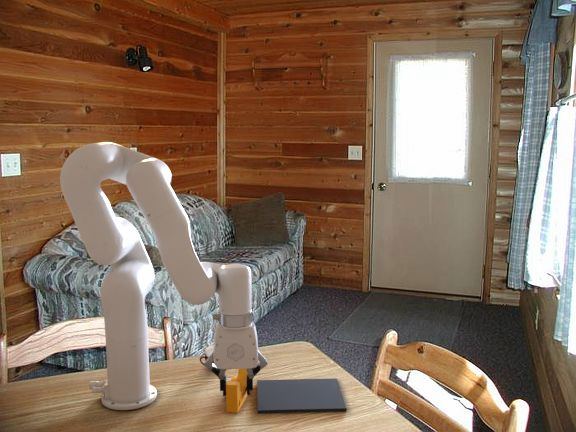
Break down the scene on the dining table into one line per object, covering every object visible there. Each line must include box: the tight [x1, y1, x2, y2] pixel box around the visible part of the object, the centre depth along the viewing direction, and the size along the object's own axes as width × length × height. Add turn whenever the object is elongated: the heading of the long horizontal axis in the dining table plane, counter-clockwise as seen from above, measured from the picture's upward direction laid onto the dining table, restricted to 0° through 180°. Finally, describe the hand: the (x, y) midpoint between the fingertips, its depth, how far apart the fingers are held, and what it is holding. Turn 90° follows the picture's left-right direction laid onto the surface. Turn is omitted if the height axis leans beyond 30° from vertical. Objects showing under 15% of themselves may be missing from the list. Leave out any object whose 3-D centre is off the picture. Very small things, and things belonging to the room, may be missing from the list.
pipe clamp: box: [225, 369, 252, 414], centre depth 145 cm, size 12×4×6 cm, turn 169°
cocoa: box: [199, 344, 214, 366], centre depth 163 cm, size 10×6×12 cm, turn 89°
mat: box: [256, 377, 348, 415], centre depth 147 cm, size 20×16×1 cm
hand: (236, 392), depth 145 cm, fingers closed on pipe clamp, 4 cm apart
